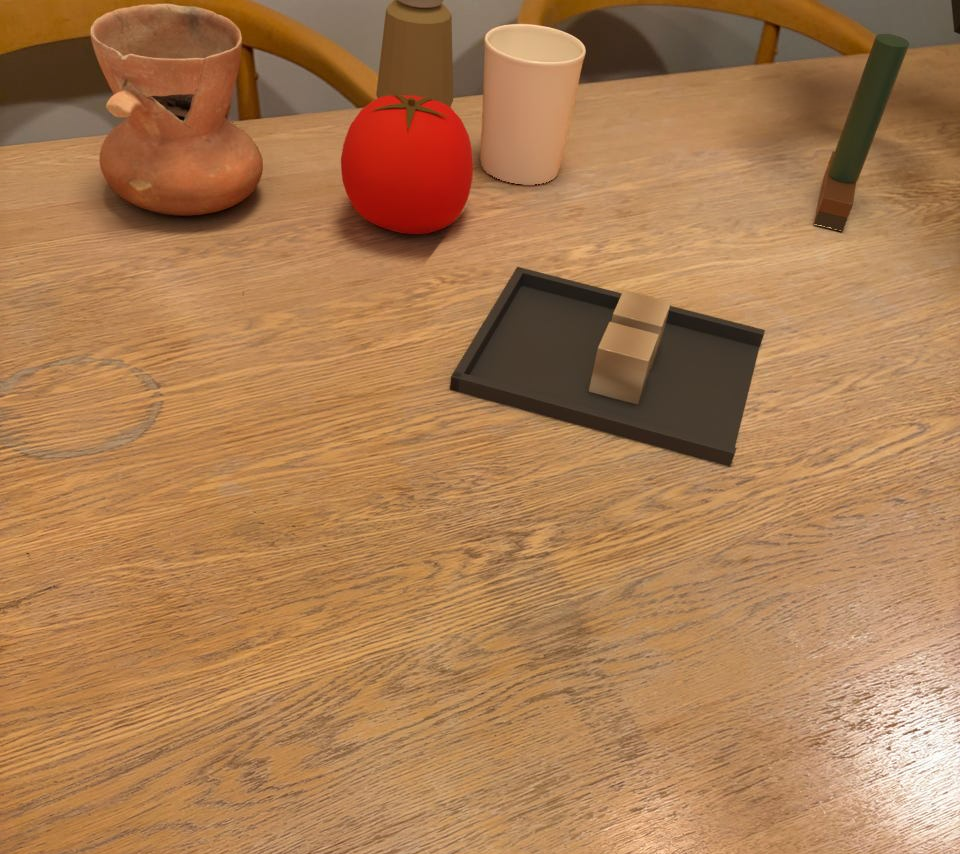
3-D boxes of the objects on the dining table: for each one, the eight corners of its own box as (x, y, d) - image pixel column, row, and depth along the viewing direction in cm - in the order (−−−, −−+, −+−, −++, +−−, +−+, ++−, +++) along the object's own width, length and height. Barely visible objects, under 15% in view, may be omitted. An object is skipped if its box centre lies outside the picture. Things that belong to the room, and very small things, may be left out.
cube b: (647, 377, 82) (659, 334, 79) (637, 405, 79) (649, 361, 76) (599, 365, 82) (609, 321, 79) (588, 391, 80) (597, 347, 77)
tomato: (469, 196, 102) (480, 78, 94) (465, 263, 93) (477, 140, 85) (350, 183, 101) (350, 63, 93) (334, 250, 93) (333, 124, 84)
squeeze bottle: (363, 138, 108) (366, -61, 95) (392, 110, 113) (398, -82, 100) (435, 156, 107) (447, -43, 93) (460, 127, 112) (476, -65, 99)
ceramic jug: (206, 254, 90) (187, 83, 79) (65, 211, 92) (28, 39, 82) (303, 175, 101) (298, 15, 91) (175, 138, 104) (155, -21, 93)
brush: (851, 184, 112) (911, 24, 100) (843, 233, 105) (907, 64, 93) (822, 178, 113) (878, 17, 101) (812, 225, 105) (872, 57, 93)
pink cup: (457, 152, 108) (467, 27, 99) (537, 142, 112) (554, 20, 103) (500, 195, 103) (515, 66, 94) (583, 183, 106) (605, 58, 97)
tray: (448, 402, 79) (450, 375, 77) (513, 291, 91) (517, 266, 89) (725, 478, 76) (735, 453, 75) (756, 354, 88) (765, 329, 86)
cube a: (660, 344, 85) (671, 301, 82) (650, 370, 83) (662, 326, 80) (613, 332, 86) (623, 289, 83) (603, 357, 83) (612, 313, 80)
